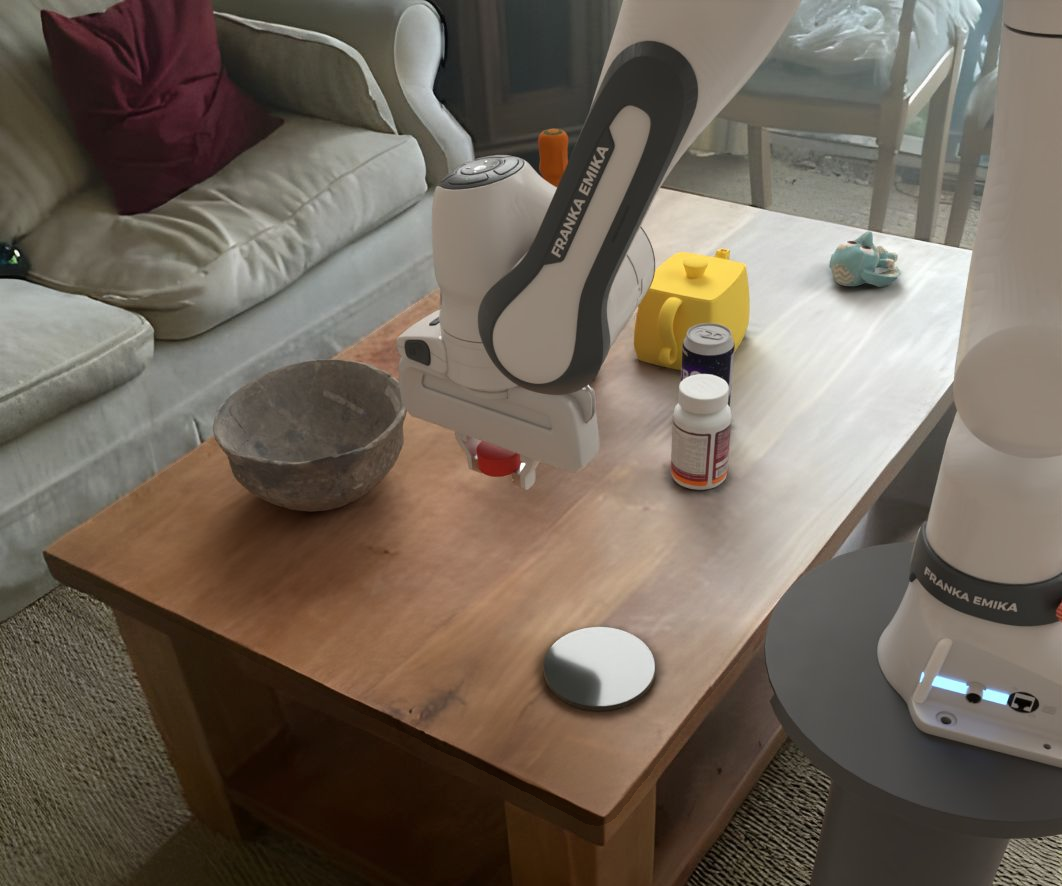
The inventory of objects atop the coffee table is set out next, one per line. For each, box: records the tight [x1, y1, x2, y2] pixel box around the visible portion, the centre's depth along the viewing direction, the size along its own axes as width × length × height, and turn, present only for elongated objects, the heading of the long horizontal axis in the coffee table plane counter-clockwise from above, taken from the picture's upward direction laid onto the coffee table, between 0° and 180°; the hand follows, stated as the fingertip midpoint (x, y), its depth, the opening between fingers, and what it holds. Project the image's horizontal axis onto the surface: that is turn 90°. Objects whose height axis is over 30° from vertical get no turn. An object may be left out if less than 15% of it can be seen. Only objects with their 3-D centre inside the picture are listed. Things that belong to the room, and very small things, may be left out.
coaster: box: [543, 626, 656, 712], centre depth 98 cm, size 10×10×1 cm
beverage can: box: [680, 323, 735, 408], centre depth 124 cm, size 6×6×12 cm
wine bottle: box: [537, 128, 569, 187], centre depth 128 cm, size 10×10×30 cm
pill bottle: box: [670, 374, 733, 491], centre depth 117 cm, size 6×6×11 cm
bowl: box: [212, 358, 408, 512], centre depth 119 cm, size 21×21×10 cm
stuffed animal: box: [828, 230, 901, 288], centre depth 152 cm, size 11×7×12 cm
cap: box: [476, 441, 522, 478], centre depth 103 cm, size 4×4×2 cm
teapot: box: [633, 247, 751, 372], centre depth 139 cm, size 20×12×12 cm, turn 150°
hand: (501, 476), depth 105 cm, fingers closed on cap, 4 cm apart
